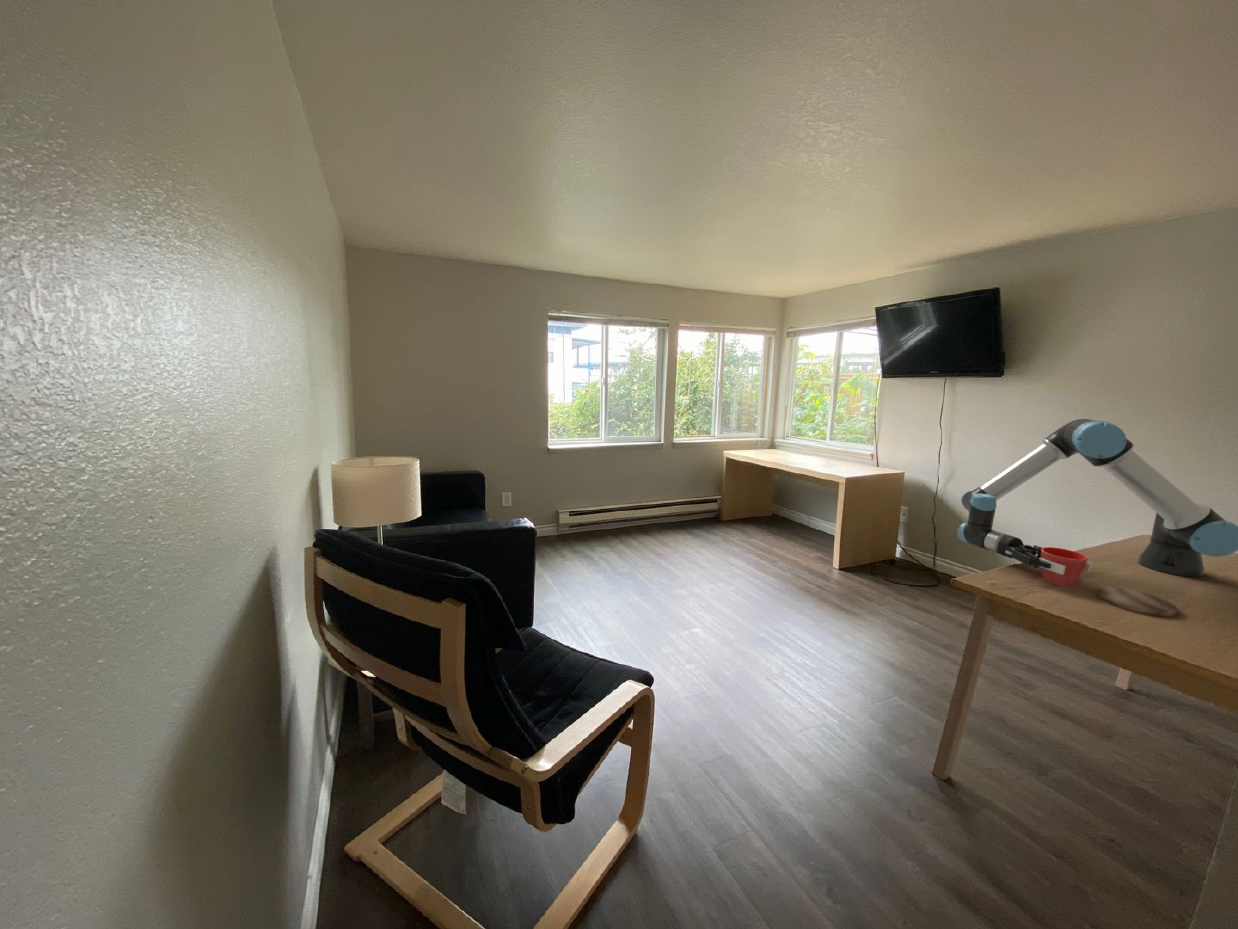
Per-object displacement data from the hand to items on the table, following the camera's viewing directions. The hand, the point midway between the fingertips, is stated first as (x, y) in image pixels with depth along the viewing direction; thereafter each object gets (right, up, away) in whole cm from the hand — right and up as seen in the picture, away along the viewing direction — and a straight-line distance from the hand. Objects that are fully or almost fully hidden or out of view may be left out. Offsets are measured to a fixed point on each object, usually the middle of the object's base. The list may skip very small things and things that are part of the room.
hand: (1076, 569), depth 148 cm
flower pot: (-1, -5, +5) cm, 7 cm away
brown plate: (+8, -8, -9) cm, 14 cm away
